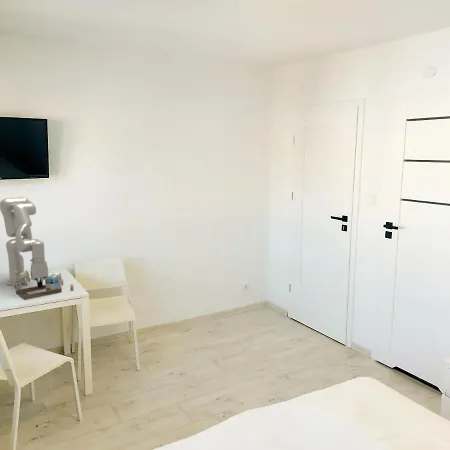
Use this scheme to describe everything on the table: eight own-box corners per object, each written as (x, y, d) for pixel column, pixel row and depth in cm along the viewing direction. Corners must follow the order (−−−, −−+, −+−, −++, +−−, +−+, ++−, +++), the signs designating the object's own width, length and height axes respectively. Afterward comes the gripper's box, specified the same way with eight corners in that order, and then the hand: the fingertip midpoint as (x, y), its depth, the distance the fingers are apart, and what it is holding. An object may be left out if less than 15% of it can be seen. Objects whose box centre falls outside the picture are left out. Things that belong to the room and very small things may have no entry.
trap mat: (16, 294, 297) (16, 294, 297) (26, 292, 301) (26, 292, 301) (23, 299, 288) (23, 298, 288) (33, 297, 292) (33, 296, 292)
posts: (59, 284, 319) (59, 279, 319) (62, 284, 321) (62, 278, 320) (71, 290, 306) (70, 285, 306) (74, 290, 308) (73, 284, 307)
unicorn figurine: (9, 292, 302) (8, 272, 300) (20, 283, 321) (19, 264, 319) (20, 291, 302) (19, 272, 300) (31, 283, 322) (30, 264, 319)
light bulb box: (55, 292, 302) (54, 276, 300) (45, 292, 302) (44, 276, 301) (62, 287, 312) (61, 272, 311) (52, 287, 313) (51, 272, 311)
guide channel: (15, 293, 298) (15, 290, 298) (52, 286, 314) (51, 283, 314) (24, 299, 287) (24, 295, 287) (61, 292, 303) (61, 288, 303)
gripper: (28, 263, 290) (30, 290, 293) (52, 259, 300) (53, 286, 303) (24, 260, 295) (26, 288, 298) (47, 257, 305) (49, 284, 308)
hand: (40, 287), depth 300 cm, fingers closed
